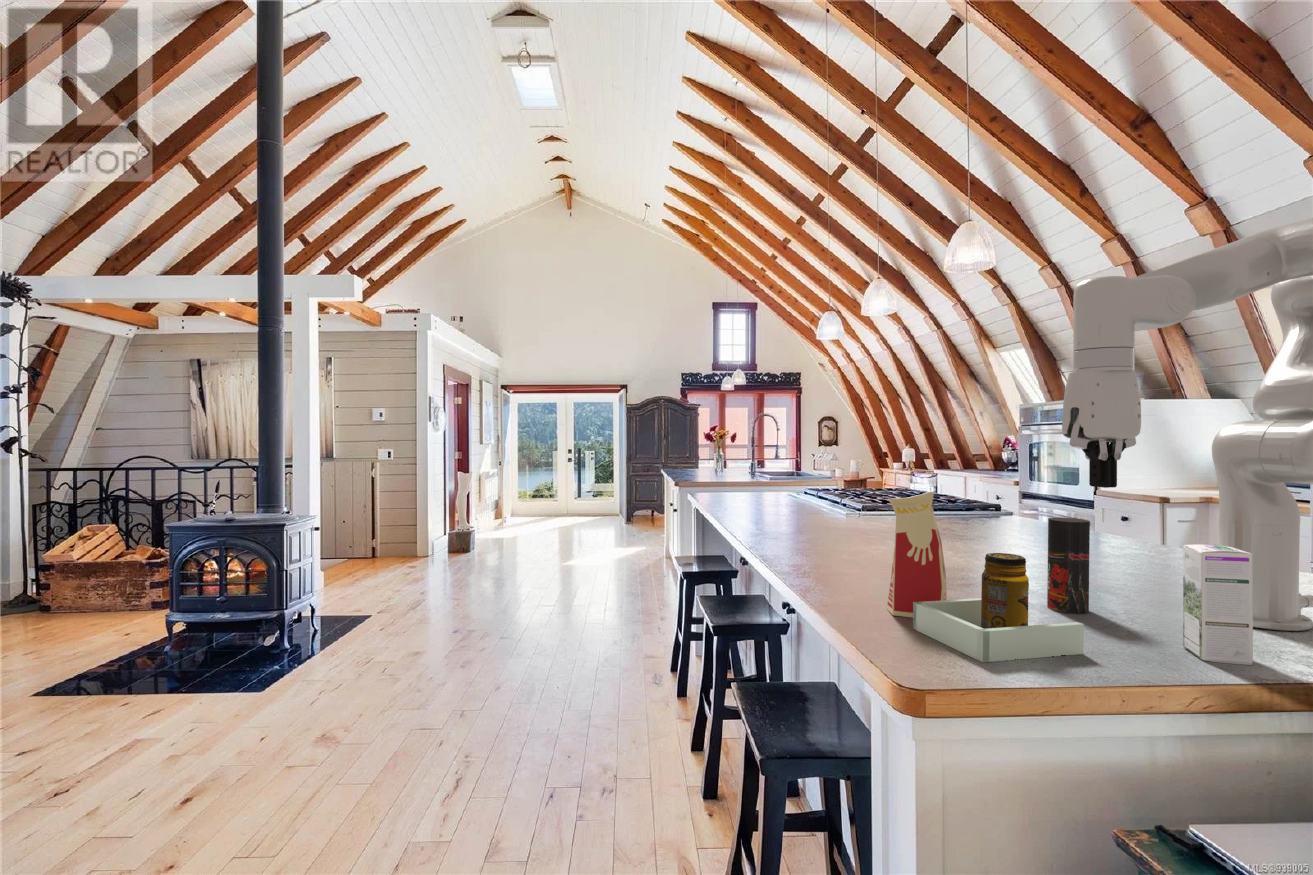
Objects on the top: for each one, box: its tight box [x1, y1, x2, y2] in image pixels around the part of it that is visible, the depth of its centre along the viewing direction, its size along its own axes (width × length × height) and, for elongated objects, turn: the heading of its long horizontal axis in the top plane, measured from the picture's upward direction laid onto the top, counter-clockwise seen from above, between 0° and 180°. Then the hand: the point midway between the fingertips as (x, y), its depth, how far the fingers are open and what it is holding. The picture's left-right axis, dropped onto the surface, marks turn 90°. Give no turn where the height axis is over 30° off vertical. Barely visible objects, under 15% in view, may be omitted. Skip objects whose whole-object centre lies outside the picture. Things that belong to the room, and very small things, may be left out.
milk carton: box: [886, 490, 948, 619], centre depth 110 cm, size 9×9×20 cm
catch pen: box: [912, 597, 1085, 663], centre depth 95 cm, size 16×15×4 cm
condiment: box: [980, 552, 1030, 629], centre depth 96 cm, size 7×8×12 cm
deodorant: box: [1046, 517, 1091, 615], centre depth 112 cm, size 6×6×15 cm
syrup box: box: [1182, 543, 1254, 666], centre depth 89 cm, size 6×6×14 cm
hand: (1102, 486), depth 99 cm, fingers closed
